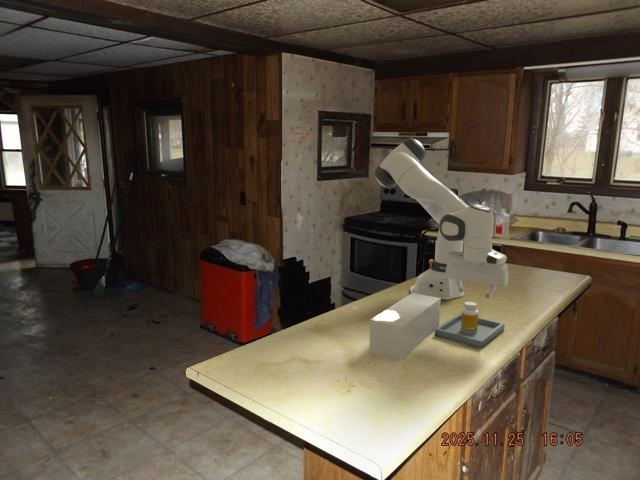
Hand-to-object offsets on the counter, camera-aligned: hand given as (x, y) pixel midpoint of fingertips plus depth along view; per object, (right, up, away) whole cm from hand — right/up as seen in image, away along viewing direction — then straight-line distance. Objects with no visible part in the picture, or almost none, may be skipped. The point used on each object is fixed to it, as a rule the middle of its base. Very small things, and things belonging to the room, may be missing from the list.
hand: (474, 294), depth 159 cm
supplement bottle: (-1, -13, +3) cm, 13 cm away
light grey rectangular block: (-23, -15, -1) cm, 27 cm away
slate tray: (-1, -13, +3) cm, 14 cm away
